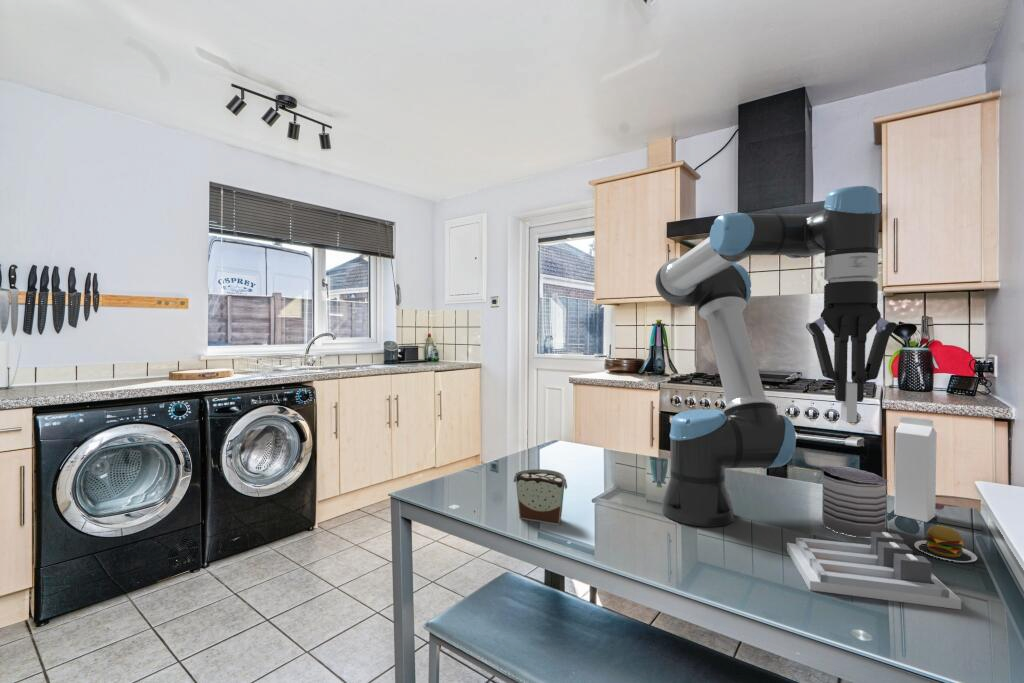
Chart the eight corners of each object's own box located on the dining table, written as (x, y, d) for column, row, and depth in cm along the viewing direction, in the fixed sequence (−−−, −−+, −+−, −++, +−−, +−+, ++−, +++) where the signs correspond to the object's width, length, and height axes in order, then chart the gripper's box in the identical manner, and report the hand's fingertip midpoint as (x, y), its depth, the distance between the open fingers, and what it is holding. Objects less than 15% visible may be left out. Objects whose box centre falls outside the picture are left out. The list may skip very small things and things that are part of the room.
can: (828, 514, 113) (829, 461, 113) (890, 528, 105) (891, 471, 105) (814, 528, 105) (815, 471, 105) (880, 544, 97) (881, 483, 97)
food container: (574, 516, 112) (574, 472, 112) (565, 526, 107) (565, 479, 106) (524, 508, 117) (524, 466, 117) (513, 517, 112) (513, 472, 111)
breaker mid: (883, 571, 83) (883, 546, 83) (877, 564, 85) (877, 540, 85) (912, 574, 82) (912, 549, 81) (905, 567, 84) (905, 543, 84)
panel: (809, 590, 80) (810, 573, 80) (786, 550, 95) (787, 536, 94) (960, 609, 74) (961, 591, 74) (912, 564, 89) (912, 549, 89)
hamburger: (959, 576, 86) (959, 544, 86) (888, 547, 97) (889, 519, 97) (1005, 566, 89) (1006, 536, 89) (932, 539, 101) (932, 512, 101)
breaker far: (876, 559, 87) (876, 535, 87) (870, 553, 89) (870, 530, 89) (903, 562, 86) (903, 538, 86) (897, 556, 88) (897, 533, 88)
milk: (927, 522, 108) (929, 421, 108) (893, 514, 113) (895, 417, 112) (935, 516, 112) (937, 418, 111) (902, 508, 117) (904, 414, 116)
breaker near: (900, 585, 78) (900, 558, 78) (893, 577, 80) (893, 552, 80) (930, 588, 77) (931, 561, 77) (922, 581, 79) (923, 555, 79)
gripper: (813, 280, 82) (811, 422, 83) (906, 278, 79) (904, 426, 79) (800, 284, 90) (799, 415, 90) (885, 282, 86) (883, 418, 86)
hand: (848, 420), depth 85 cm, fingers closed
